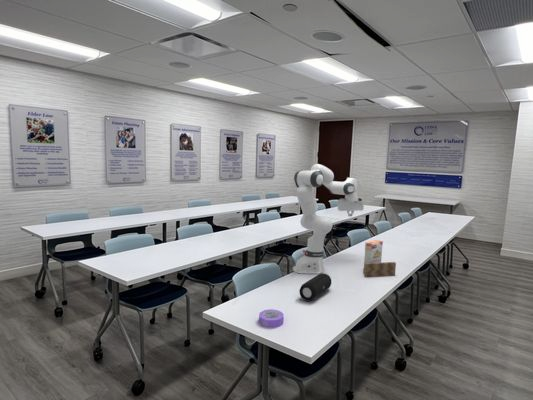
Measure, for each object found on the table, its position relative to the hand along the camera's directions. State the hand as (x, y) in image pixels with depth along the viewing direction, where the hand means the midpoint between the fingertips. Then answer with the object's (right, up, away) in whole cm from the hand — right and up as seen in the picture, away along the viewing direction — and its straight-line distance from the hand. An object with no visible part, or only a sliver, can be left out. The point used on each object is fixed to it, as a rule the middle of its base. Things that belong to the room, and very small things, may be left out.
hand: (350, 216), depth 262 cm
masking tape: (-62, -46, -100) cm, 126 cm away
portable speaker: (-36, -43, -65) cm, 86 cm away
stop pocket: (+12, -39, -28) cm, 50 cm away
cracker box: (+12, -38, -18) cm, 44 cm away
